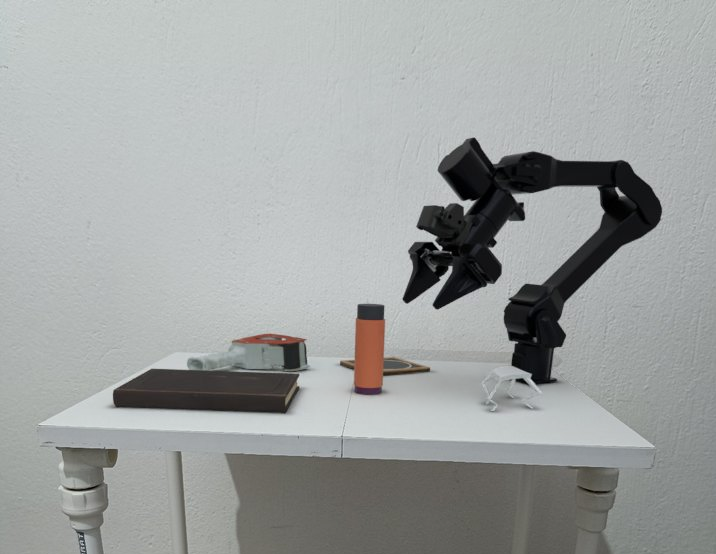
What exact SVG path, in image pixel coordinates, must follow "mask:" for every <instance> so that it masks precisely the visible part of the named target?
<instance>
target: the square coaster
mask: <svg viewBox="0 0 716 554" xmlns="http://www.w3.org/2000/svg"><path fill="white" fill-rule="evenodd" d="M339 365H340V366H342V367H346V368H348V369H351V370H354V366H355V359H344V360H343V359H341V360H340V361H339ZM429 372H431V367H430V366H427V365H424V364H420V363H417V362H414V361H409V360H406V359H402V358H399V357H396V356H389V357H384V362H383V377H384V376H394V375H406V374H407V375H408V374H420V373H429Z"/></svg>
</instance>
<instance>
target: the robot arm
mask: <svg viewBox="0 0 716 554" xmlns="http://www.w3.org/2000/svg"><path fill="white" fill-rule="evenodd" d="M437 172H438V174H439V175H440V176H441V177H442V179H443V180H444V182H446V184H447V185H448V186H449V187H450V189H451V190H452V191H453V192H454V194H455V195H456V196H457V197H458V199H459V200H460V201H461V202H466V201H470V202H473V203H472V204H471V206H470V207H469V208H468V210H466V212H465V207H464V206H463V205H461V204H460V203H458V202H454V203H453V202H452V203H449V204H448V205H447V206H446V207H445V206H443V205H437V204H436V205H435V204H431V205H430V204H429V205H424V206H422V210H421V212H420V215H419V218H418V220H417V223H416V229H418V230H419V231H425V232H426V233H429V234H430V235H433V236H434V237H436V238H435V240H434V242H435V243H436V244H437V245H438V246H439V247H441V250H440V249H439V247H437V245H436V244H435V243H434V242H433V241H414V242H413V244H412V245H411V246H410V248H409V249H408V250H407V253H408V255H409V260H410V261H411V263H412V270H411V273H410V277H409V279H408V283H407V285H406V288H405V291H404V293H403V295H402V302H404V303H405V304H406V305H407V304H410V303H411V302H413V301H414V300H415V299H417V298H419V297H420V296H421V295H423V294H424V293H425V292H427V291H428V290H429V289H431V288H432V287H434V286H435V285H436V284H438V283H440V282H441V279H442V278H441V277H443V276H445V274H446V273H447V272H448V271H449V269H450V267H451V268H452V269H451V273H450V274H449V276H448V277H447V279H446V281H445V283H444V284H443V285H442V287H441V289H440V290H439V291H438V293H437V295H436V296H435V298H434V301H433V303H432V307H433V308H434V309H435V310H437V311H439V310H440V309H442V308H444V307H447V306H448V305H450V304H452V303H453V302H456V301H457V300H459V299H461V298H463V297H465V296H467V295H470V294H471V293H473V292H475V291H477V290H480V289H482V288H486V287H487V286H488V285H495V283H496V282H497V281H498V280H499V279H500V278H501V276H502V274H503V264H502V262H501V261H500V260H499V259H498V258H497V257H496V255H495V254H494V253H493V252H492V250H491V248H492V249H494V247H496V245H497V244H498V242H497V240H496V239H495V238H496V237H497V235H498V234H499V232H500V231H501V230H502V229H503V227H504V226H505V225H506V223H507V222H524V221H525V220H526V211H525V202H522V201H521V202H520V201H519V202H518V201H517V200H516V198H515V196H514V195H526V194H535V193H539V192H544V191H547V190H551V189H553V188H596V189H598V191H599V204H600V207H601V209H602V210H603V212H604V213H603V214H602V216H601V220H600V223H599V227H598V229H597V230H596V231H595V232H594V233H593V234H592V235H590V237H589V238H588V239H587V240H586V241H585V242H584V243H583V244H582V245H581V246H579V248H578V249H577V250H576V251H575V252H574V253H572V255H570V256H569V258H568V259H567V260H566V261H564V262H563V263H562V264H561V266H560V267H558V268H557V269H556V271H554V273H552V274H551V275H550V276H549V277H548V278H547V279H546V280H545V281H544V282H543V283H541V284H535V283H524V284H523V285H522V286H521V287H520V288H519V290H518V291H517V292H516V294H514V295H512V296H510V297H509V298H508V301H510V302H508V303H507V304H506V305H505V307H504V309H503V324H504V327H505V329H506V333H507V337H508V342H514V349H513V352H512V354H511V362H510V366H513V367H516V368H518V369H520V370H523V371H525V372H527V373H530V374H532V376H531V378H530V379H531V380H532V381H533V382H534V383H535V385H536V384H544V383H553V382H555V383H556V382H558V378H557V377H552V368H553V360H554V352H555V349H556V348H562V347H563V345H564V343H565V341H566V338H567V334H566V332H565V331H564V329H563V327H562V326H561V325H560V323H559V321H560V320H561V317H562V315H563V311H564V307H565V303H566V302H567V301H568V300H570V298H571V297H573V295H574V294H575V293H576V292H578V290H579V289H580V288H581V287H582V286H583V285H584V284H585V283H586V282H587V281H588V280H589V279H590V278H591V277H592V276H593V275H595V273H597V271H598V270H600V268H601V267H603V266H604V264H605V263H607V262H608V261H609V259H610V258H611V257H612V256H614V255H615V254H616V252H618V251H619V249H621V248H622V247H623V246H626V245H628V244H630V243H633V242H634V241H637V240H640V239H642V238H643V237H645V236H646V235H647V234H649V233H650V232H651V231H653V230H654V229H656V228H657V227H658V225H659V223H660V221H661V220H662V214H663V207H662V204H661V200H660V199H659V197H658V196H657V194H656V193H655V191H654V190H653V188H652V186H651V185H650V184H649V183H647V182H646V181H645V180H644V179H643V178H641V176H639V175H638V174H636V173H635V171H634V168H633V167H632V166H631V164H630V163H629V162H628V161H626V160H624V159H618V160H610V161H606V160H603V161H602V160H561V159H557V158H555V157H554V156H552V155H550V154H546V153H543V152H539V151H534V150H532V151H526V152H519V153H513V154H508V155H504V156H502V157H501V158H500V161H498V163H493V162H492V161H491V159H490V158H489V156H487V154H486V153H485V152H484V150H483V149H482V146H481V144H480V142H479V141H478V140H477V138H476V137H468V138H466V139H465V140H464V142H463V143H461V144H460V145H458V146H457V147H456V148H454V149H453V150H452V151H451V152H450V153H448V154H446V155H445V156H444V157H442V160H441V161H440V162H439V164H438V167H437ZM616 188H617V189H618V190H619V192H620V193H621V194H623V195H620V194H618V193H619V192H617V190H616ZM515 380H516V381H517V382H521V383H524V384H528V383H527V382H526V381H525V380H524V379H523V378H518V379H515Z"/></svg>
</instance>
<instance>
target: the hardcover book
mask: <svg viewBox="0 0 716 554" xmlns="http://www.w3.org/2000/svg"><path fill="white" fill-rule="evenodd" d="M299 377H300V373H291V372H290V373H287V372H263V371H262V372H261V371H235V370H234V371H232V370H230V371H229V370H207V371H206V370H189V369H179V368H178V369H176V368H175V369H174V368H150V369H149V370H146V371H145V372H143V373H141V374H139V375H137V376H135V377H134V378H132V379H130V380H129V381H127V382H125V383H123V384H121V385H119V386H118V387H116V388H114V389H113V391H112V401H113V405H114V406H115V407H121V408H122V407H123V408H149V409H174V410H175V409H176V410H177V409H179V410H200V411H201V410H202V411H203V410H204V411H228V412H229V411H233V412H259V413H261V412H262V413H286V412H287V411H288V409H289V407H290V405H291V404H292V402H293V400H294V398H295V397H296V395H297V394H298V391H299V389H300V385H298V379H299Z"/></svg>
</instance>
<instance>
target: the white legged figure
mask: <svg viewBox="0 0 716 554" xmlns="http://www.w3.org/2000/svg"><path fill="white" fill-rule="evenodd" d="M488 372H489V373H488V375H487V376H486V377H485V378H484V379H483V380H482V382H481V385H482V388H483V390H484V391H485V394H486V395H487V397H486V399H487V401H486V402H485V405H488V404H489V403H490V402H491V403H492V404H494V406H493V407H492V408H491V410H490V411H491V412H494V411H495V410H496V409H497V408H498V406H499V404H498V403H497V402H495V401H494V400H493V399H492V397H493V396H494V395H495V393H496V391H497V390H498V388H499V386H500V384H501V382H504V381H510V380H511V382H510V384H509V386H508V389H507V391H506V393H507V394H508V396H510V397H511V398H512V399H515V397H514V395H512V394H511V390H512V389H513V386H514V385H515V383H516V381H517V380H515V379H518V378H523V379H524V380H525V381H526V382H527V383H526V384H528V385H529V386H530V388H532V389H533V390H534V391H532V392H531V393H530V394H528V395H526V396H525V397H523V398H522V399H521V400H520V401H521V402H522V403H523V404H525V405H526V406H527V407H528V408H530V409H535V408H534V407H533V406H531V405H530V404H529V403H528V402H526V401H528V400H530V399H531V400H532V399H533V398H534V397H537V396H539V395H541V394H543V392H542V391H541V389H540V388H539V387H538V385H536V384H535V383H534V382H533V381H532V380H531V379H530V378H531V376H532V374H530V373H527V372H525V371H523V370H520V369H518V368H516V367H513V366H511V365H505V366H499V367H497V368H494V369H492V370H489V371H488ZM491 378H494V379H495V380H496V381H497V383H496V384H495V386H494V387H493V389H492V390H491V392H490V393H489V391H488V389H487V386H486V382H487V381H489V380H490V379H491Z"/></svg>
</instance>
